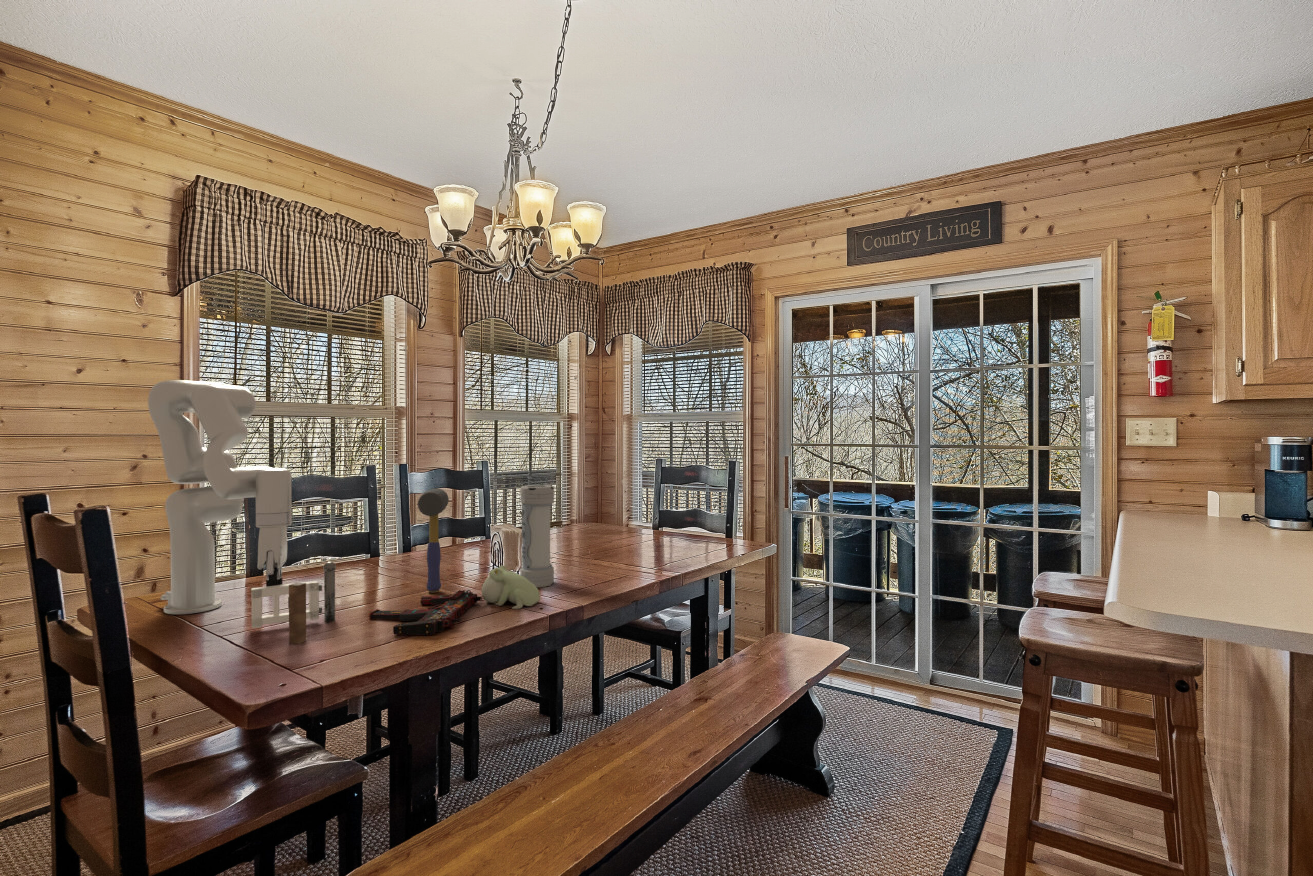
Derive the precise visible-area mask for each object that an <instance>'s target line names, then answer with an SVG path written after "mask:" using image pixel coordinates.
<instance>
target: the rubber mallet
mask: <svg viewBox="0 0 1313 876" xmlns="http://www.w3.org/2000/svg"><path fill="white" fill-rule="evenodd" d="M449 500H450V498H449V495H448V493H447V492H446V491H445V490H444V489H441V488H431V489H428V490H426V491H424V492H423V493H422V494H421V495H420V497H419V499H418V501H417V507H418V511H419V512H420V513H422V514H423V515H424V516H427V517H429V522H428V523H429V527H428V528H429V530H428V531H429V539H428V540H429V541H428V544H427V548H426V549H427V551H426V563H427V583H426V589H427V591H428V592H429V593H438V592H440V590H441V588H442V582H441V579H440V578H441V574H440V573H441V571H440V570H441V568H440V566H441V558H442V555H441V544H440V542H439V540H440V539H439V532H440V531H439V514H441V513H442V512H443V511H445V509H446V508H447V506H448V505H449Z"/></svg>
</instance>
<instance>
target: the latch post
mask: <svg viewBox="0 0 1313 876" xmlns="http://www.w3.org/2000/svg"><path fill="white" fill-rule="evenodd" d="M289 584H290V585H289V594H288V597H287V599H288V602H287V603H288V604H287V607H288V613H289V621H288V643H289V645H290V644H293V645H300V644H302V643H305V642H307V619H306V610H307V592H306V583H303V582H294V583H289Z"/></svg>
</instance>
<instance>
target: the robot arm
mask: <svg viewBox="0 0 1313 876" xmlns="http://www.w3.org/2000/svg"><path fill="white" fill-rule="evenodd" d="M149 390H150V391H149V394H148V398H147V399H148V401H147V403H148V404H147V407H148V412H149V415H150V417H151V420H152V422H153V424H154V426H155V428H156V431H157V434H158V436H159V441H160V446H161V452H162V458H163V461H164V462H163V463H164V468H165V473H166V476H167V478H168V480H169V481H170V482H171V483H173V484H177V485H193V484H195V485H196V484H205V483H206V484H209V485H210V486H203V487H202V486H201V487H189V488H183V489H179V490H176V491H174V492H172V493H171V494H169V495H168V497H167V498H166V501H165V503H164V504H165V505H164V508H165V514H166V520H167V522H168V523H167V524H168V530H169V541H170V542H169V543H170V544H169V546H170V547H169V549H170V550H169V551H170V590H167V591H165V592H164V594H162V595H160V600H161V601H167V604H166V605H165V606H164V607H163V613H165V614H166V615H167V614H168V615H191V614H197V613H203V612H208V611H212V610H215V609H217V608H218V609H219V608H220V607H221V606H222V604H223V600H222V599H221V598H217V597H216V589H215V588H216V583H215V582H216V575H215V574H216V572H215V571H216V570H215V569H216V568H215V566H216V563H215V561H216V558H215V552H216V550H215V545H216V544H215V538H214V536H213V534H212V533H211V531H210V530H209V529H208V527H207V526H206V524H209V523H216V522H217V523H218V522H222V521H223V522H224V521H230V520H233V519H236V518H237V517H239V516H240V515H241V513H242V511H243V508H244V507H243V505H244V501H243V500H244V499H246V498H255V527H256V528H259V533H258V542H257V543H258V545H257V569H258V570H262V569H263V568H264V567H265V574H266V577H265V578H266V579H265V580H266V581H265V587H267V586H276V585H283V565H284V564H285V563H286V562H287V559H288V527H290V526H291V525H292V523H293V519H292V517H293V516H292V513H293V512H292V510H293V509H292V504H293V503H292V473H291V471H290V469H288V468H283V467H280V468H279V467H277V468H276V467H275V468H274V467H271V466H267V465H266V466H265V465H263V466H243V467H241V466H239V467H237V464H236V460H235V457H234V456H233V454H232V453H231V452H230V451H229V450H231V449H233V448H236V447H238V446H239V445H240V444H243V442H244V441H246V440H247V438H248V435H249V431H248V428H247V425H246V423H245V422H244V421H243V419H247V418H250V417H252V415H254V413H255V411H256V408H257V403H256V398H255V396H254V394H253V393H252V391H250V390H249V389H248V388H246V387H244V386H239V385H233V384H227V383H224V382H223V383H222V382H215V381H200V380H185V379H184V380H182V379H171V380H170V379H169V380H163V381H159V382H157V383H156V384H154V385H153V386H152V387H151V389H149ZM184 413H187V414H189V413H190V414H191V413H192V414H196V416H197V418H198V421H199V422H200V424H201V426H202V428H203V430H204V431H205V435H207V438H208V440H209V444H208V445H207V447H203V445H202V442H201V438H200V434H199V430H198V428H197V427H196V426H195V425H194V423H193V422H192V421H191V420H190V419H189V418H188V417H186V415H184ZM280 596H281V595H279V597H280Z"/></svg>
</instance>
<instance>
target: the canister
mask: <svg viewBox="0 0 1313 876" xmlns="http://www.w3.org/2000/svg"><path fill="white" fill-rule="evenodd" d="M554 502H555V486H553V485H548V484H529V485H528V484H527V485H523V486H521V487H520V503H521V505H522V507H521V508H522V509H521V517H522V519H521V526H522V528H521V541H522V543H521V544H522V545H521V557H522V558H521V563H522V564H521V565H522V567H521V568H520V575H521V576H523V577H525V578H526V579H527V580H529V581H530V582H531V583H532V584H534V585H535V586H536V587H537V589H539V588H546V587H547V586H548V587H550V586H551V585H553V584H554V583H555V582H554V581H555V577H554V575H555V570H554V566H553V564H552V563H551V506H553V503H554ZM548 587H547V588H548Z"/></svg>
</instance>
